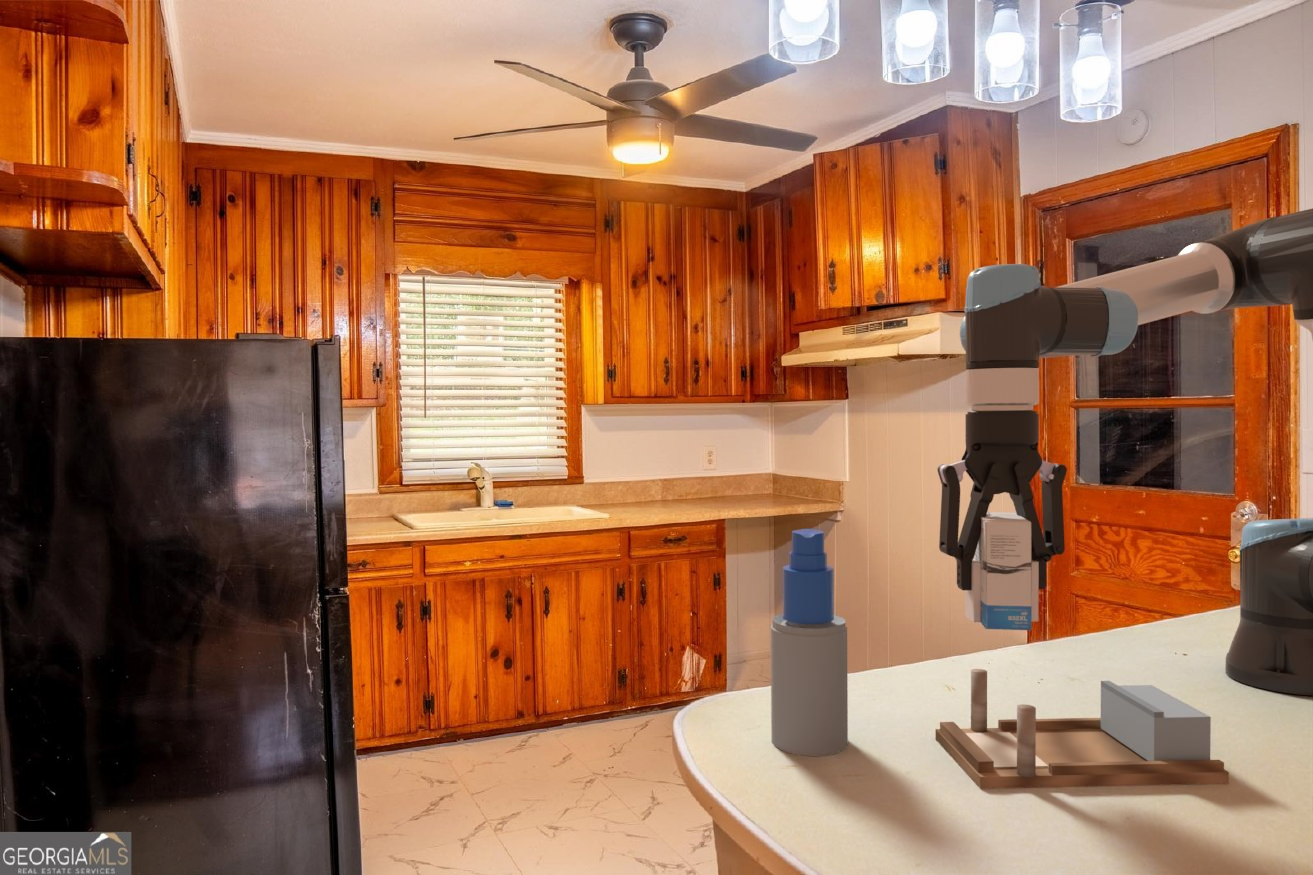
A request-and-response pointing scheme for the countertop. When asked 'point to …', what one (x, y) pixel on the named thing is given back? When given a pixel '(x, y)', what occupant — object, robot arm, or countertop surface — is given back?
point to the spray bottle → (809, 656)
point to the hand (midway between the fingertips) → (1001, 618)
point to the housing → (1154, 723)
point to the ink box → (1005, 571)
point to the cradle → (1057, 752)
